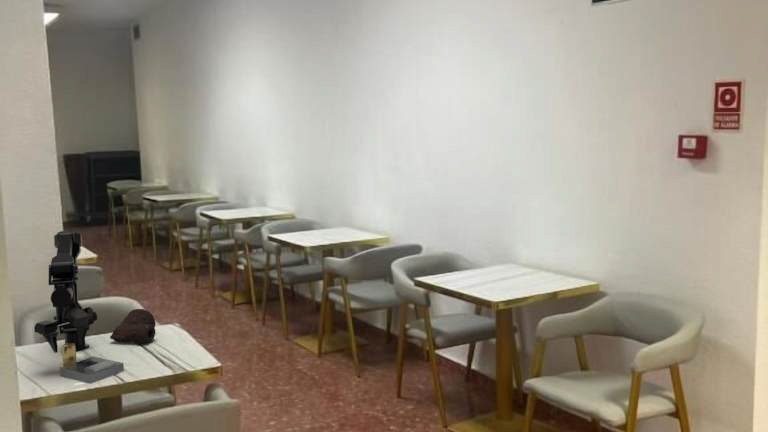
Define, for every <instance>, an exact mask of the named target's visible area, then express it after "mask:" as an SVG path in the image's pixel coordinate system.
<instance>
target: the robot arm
mask: <svg viewBox="0 0 768 432" xmlns="http://www.w3.org/2000/svg"><path fill="white" fill-rule="evenodd" d="M53 240H54V241H53V242H54V247H55V249H56V254H55V256H53V257H52V258H51V260H50V264H49V265H48V286H53V287H54V288H53V291H52V293H51V295H50V301H51V303H52V307H53V308H55V314H56V315H55V316H53V320H54V321H50V320H44V321H38V322H37V323H35V325H34V333H37V334H38V335H42V336H43V338H44V339H45V340H46V342H47V343H48V344H49V347H50V348H51V350H52V351H53V353H54V354H56V353H58V340H57V336H58V335H59V334H60V335H62V334H64V344H68V343H75V346H76V352H78V351H82V350H85V349H88V348H90V346H89V345H86V335H87V332H88V331H90V327H91V326H92V325H93V324H95V322H96V321H98V320H99V319H98V314H97V312H96V311H94V310H93V308H92V307H91V306H88V307H85V308H83V306H82V305H81V304H80V302H79V286H78V285H79V284H78V280H79V266H78V265H77V260H78V257H79V256H80V254H81V252H82V250H81V249H82V248H81V247H83V237H82V234H81V233H78V232H75V231H74V230H73V231H72V230H61V231H58V232H57V233H56V234H55V235H53ZM58 328H59V332H58ZM61 350H62V347H61Z"/></svg>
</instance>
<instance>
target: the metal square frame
mask: <svg viewBox="0 0 768 432" xmlns="http://www.w3.org/2000/svg"><path fill="white" fill-rule="evenodd" d="M124 366H125V365H124V362H121V361H114V360H109V359H106V358H101V357H97V356H92V357H87V358H85V359H82V360H79V361H77V362H76V363H73V364H70V365H67V366H64V367H63V366H61V367H59V372H60V373H59V374H60V377H64V378H69V379H72V380H77V381H79V382H80V381H81V382H84V383H89V384H92V383H95V382H97V381H101V380H103V379H106V378H109V377H111V376H114V375H116V374H119V373H123V372H124V371H125V369H124V368H125V367H124Z"/></svg>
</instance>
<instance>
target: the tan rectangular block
mask: <svg viewBox="0 0 768 432" xmlns="http://www.w3.org/2000/svg"><path fill="white" fill-rule="evenodd" d="M61 348H62V349H61V354H62V355H61V356H62V367H64V366H67V365H70V364H73V363H76V362H78V361H77V351H76V346H75V343H68V344H65V343H64V344H61Z"/></svg>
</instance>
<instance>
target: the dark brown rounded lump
mask: <svg viewBox="0 0 768 432" xmlns="http://www.w3.org/2000/svg"><path fill="white" fill-rule="evenodd" d="M155 327H156V319H155V316H154V315H153V314H152V313H151V312H150V311H149V310H146V309H144V308H135V309H132V310H130V311H129V312H128V313H127V315H126V316H125V317H124V319H123V321H122V322H120V324H119V325H117V326H116V327H115V328H114V330H113V331H112V334H111V335H110V336H109V337H110V340H113V341H115V342H120V343H128V342H131V343H134V344H140V345H147V344H150V343H152V342H153V341H154V339H155V337H156V328H155Z"/></svg>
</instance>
